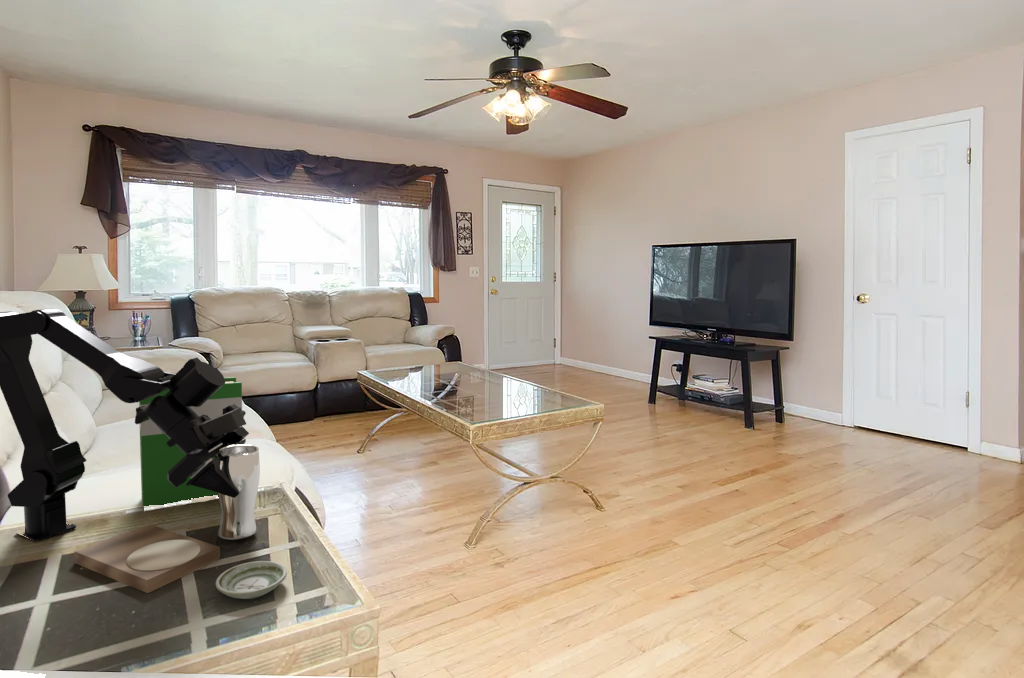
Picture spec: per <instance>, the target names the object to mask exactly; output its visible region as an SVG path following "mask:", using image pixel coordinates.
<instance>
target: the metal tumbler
mask: <svg viewBox="0 0 1024 678" xmlns="http://www.w3.org/2000/svg"><path fill="white" fill-rule="evenodd" d="M218 456H219V461H220V469H221V470H222V471H223V473H224V474H225V475H226V476H227V478H228V479H229V480H230V481H231V482H232V484H233V485H234V486H235V488H236V489H237V490H238V492H239V495H237V496H236V497H235V498H233V497H230V496H227V495H224V494H220V493H218V497H219V506H220V522H219V527H218V532H217V533H218V536H219V538H221V539H223V540H224V539H225V540H227V541H228V540H229V541H231V540H232V541H233V540H234V541H235V540H241V539H246V538H248V537H251V536H252V535H255V533H256V532H257V524H256V517H255V505H256V501H257V495H258V490H259V484H260V474H261V464H260V449H259V447H258V446H256V445H252V444H244V445H232V446H227V447H223V448H221V449H219V450H218V455H217V457H218Z"/></svg>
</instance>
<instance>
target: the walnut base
mask: <svg viewBox="0 0 1024 678" xmlns="http://www.w3.org/2000/svg"><path fill="white" fill-rule="evenodd" d="M218 560H219V561H220V560H221V547H220V546H217V545H214V544H212V543H208V542H206V541H203V540H199V539H197V538H193V537H190V536H187V535H184V534H181V533H178V532H176V531H172V530H169V529H167V528H163V527H160V526H157V525H154V524H153V523H147V524H144V525H141V526H139V527H135V528H134V529H130V530H128V531H125V532H122V533H120V534H117V535H115V536H112V537H110V538H106V539H104V540H101V541H98V542H96V543H93V544H90V545H88V546H84V547H82V548H80V549H76V550H74V564H76V565H79V566H81V567H83V568H85V569H88V570H91V571H93V572H94V573H98V574H100V575H102V576H105V577H107V578H110V579H112V580H114V581H117V582H119V583H122V584H124V585H126V586H129V587H131V588H134V589H136V590H139V591H140V592H141V591H142V592H144V593H146V594H149V593H151V592H154V591H156V590H158V589H159V588H160V589H161V588H162V587H164V586H165V585H169V584H170V583H172V582H174V581H176V580H178V579H181V578H183V577H185V576H187V575H188V574H191V573H193V572H195V571H198V570H200V569H202V568H204V567H206V566H208V565H210V564H212V563H214V562H217V561H218Z"/></svg>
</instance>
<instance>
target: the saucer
mask: <svg viewBox="0 0 1024 678" xmlns="http://www.w3.org/2000/svg"><path fill="white" fill-rule="evenodd" d="M287 575H288V570H287V568H286V566H285V565H283V564H282V563H280V562H276V561H271V560H256V561H249V562H244V563H241V564H237V565H235V566H232V567H230V568H227V569H226V570H225V571H224V572H222V573H220V574H219V576H218V577H217V578H216V580H215V588H216V589H217V591H218V592H220V593H222V594H223V595H226V596H228V597H231V598H233V599H240V600H252V599H257V598H259V597H262V596H264V595H266V594H268V593H270V592H272V591H273V590H275V589H276V588H277V587H278V586H279V585H281V583H282V582H284V581H285V579H286V577H287Z"/></svg>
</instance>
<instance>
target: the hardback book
mask: <svg viewBox="0 0 1024 678" xmlns="http://www.w3.org/2000/svg"><path fill="white" fill-rule="evenodd" d="M224 379H225V384H224V385H223V386H222V387H221V388H220V389H219V390H218V391H216V392H215V393H214V394H213V395H212V396H211V397H210V398H209V399H208V400H207V401H206V402H205V403H204V404H202V405H201V406H200V407H194V406H191V407H190V408H191V409H192V410H193V411H194V412H195V413H196V414H197V415H198V416H202V415H207V416H208V417H209V418H211V419H213V418H216V417H218V416H220V415H223V408H225V407H227V406H230V405H232V404H235V405H236V406H238V407H241V409H242V410H243V387H242V385H243V383H242V382H241V381H237V376H229V377H228V376H226V377H224ZM169 391H170V390H169V389H168V390H165V391H162V392H161V393H160V394H158V395H157V396H165V395H166V394H167V393H168V392H169ZM157 396H154V397H151V398H148V399H146V400H143V401H140V402H138V407H141V406H143V405H145V406H147V405H148V404H149V403H150V402H151V401H152V400H153V399H154V398H155V397H157ZM169 440H170V439H169V438H168V437H167V436H166V435H165V434H164V433H163V432H162V431H161V430H160V429H159V428H158V427H157V426H156V425H155V424H154V423H153V422H152V421H151V420H150V419H149V420H147V421H144V422H142V423H140V424H139V449H140V450H139V451H140V455H139V456H140V479H141V485H140V487H141V503H142V507H143V506H149V505H164V504H167V503H173V502H178V501H181V500H188V499H189V500H191V498H193V499H194V498H199V497H204V496H213V495H218V493H217V492H214V491H211V490H208V489H204V488H200V487H196V486H192V485H189V486H187V485H186V483H187V482H188V481H189V480H191V478H190V477H188V478H186V479H187V480H186V481H185V482H184V483H183V484H181V485H180V486H178V487H177V488H175V487H174V486H173V485H172V484H171V483H170V482H169V481H168V480H167V472H168V471H169V470H170V469H171V468H173V467H174V466H175V465H176V464H177V463H178V462H179V461H180V460H181V459H182V458H183V457H184V456H186V455H185V454H184V453H183V452H182V451H181V450H180V449H179V448H178V447H177V446H176V445H174V446H172V447H169V446H168V445H167V444H166V443H167V442H168V441H169ZM212 459H215V457H213V458H212Z"/></svg>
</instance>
